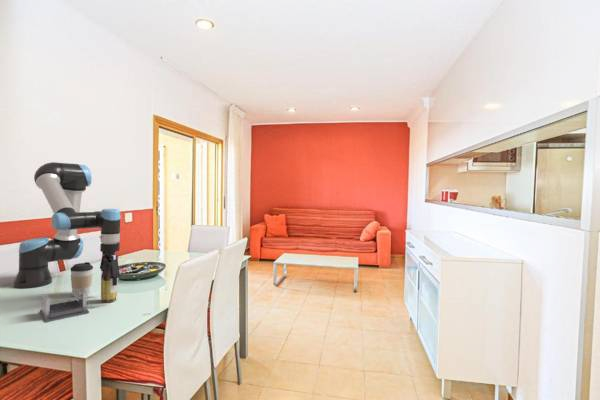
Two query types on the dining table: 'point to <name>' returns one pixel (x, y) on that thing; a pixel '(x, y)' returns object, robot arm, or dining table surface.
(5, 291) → the dining table surface
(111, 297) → the sauce bottle
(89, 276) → the coffee cup
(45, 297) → the clip holder
